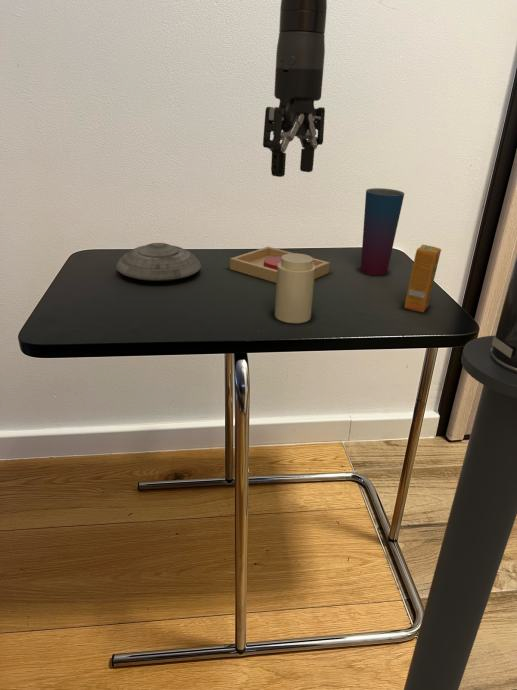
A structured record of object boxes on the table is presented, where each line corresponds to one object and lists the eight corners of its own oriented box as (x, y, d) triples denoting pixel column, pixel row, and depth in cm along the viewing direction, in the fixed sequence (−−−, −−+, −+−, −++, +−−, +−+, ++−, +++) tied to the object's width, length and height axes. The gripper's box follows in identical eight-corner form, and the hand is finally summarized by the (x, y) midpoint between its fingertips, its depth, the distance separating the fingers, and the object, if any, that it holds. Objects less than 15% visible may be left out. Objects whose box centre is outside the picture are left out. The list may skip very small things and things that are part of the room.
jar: (316, 314, 84) (322, 256, 80) (301, 326, 79) (306, 266, 75) (284, 306, 86) (288, 250, 82) (268, 317, 82) (271, 259, 78)
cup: (353, 274, 102) (363, 192, 96) (358, 264, 108) (368, 186, 101) (389, 279, 100) (402, 196, 94) (393, 268, 106) (406, 190, 100)
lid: (257, 268, 101) (257, 260, 100) (276, 261, 105) (276, 254, 105) (282, 275, 98) (283, 268, 97) (301, 268, 102) (302, 261, 101)
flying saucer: (189, 258, 107) (188, 230, 104) (211, 283, 94) (211, 252, 92) (111, 263, 102) (108, 235, 99) (123, 291, 89) (121, 259, 87)
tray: (328, 273, 102) (329, 262, 101) (293, 288, 94) (294, 276, 93) (267, 256, 110) (267, 246, 109) (229, 269, 102) (230, 258, 101)
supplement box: (425, 313, 86) (437, 252, 82) (403, 308, 87) (414, 248, 83) (429, 307, 89) (441, 247, 84) (409, 302, 90) (419, 243, 86)
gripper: (304, 68, 92) (297, 168, 99) (252, 63, 82) (249, 174, 89) (342, 69, 88) (332, 173, 95) (293, 64, 78) (286, 180, 85)
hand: (292, 173), depth 92 cm, fingers open, 8 cm apart
